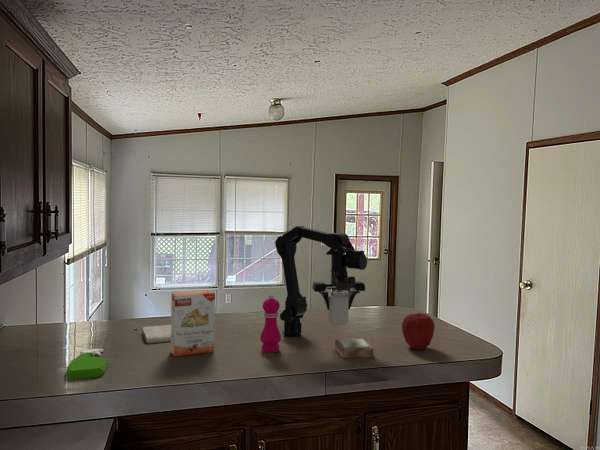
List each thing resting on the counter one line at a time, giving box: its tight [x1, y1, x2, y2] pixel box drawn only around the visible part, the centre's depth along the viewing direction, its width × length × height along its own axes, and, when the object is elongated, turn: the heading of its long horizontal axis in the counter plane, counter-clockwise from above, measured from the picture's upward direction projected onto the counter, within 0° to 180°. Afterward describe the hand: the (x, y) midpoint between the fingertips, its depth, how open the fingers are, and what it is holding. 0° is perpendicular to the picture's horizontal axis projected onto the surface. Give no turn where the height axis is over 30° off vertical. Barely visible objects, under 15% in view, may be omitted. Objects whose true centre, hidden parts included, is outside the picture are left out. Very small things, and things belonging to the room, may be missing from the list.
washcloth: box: [142, 324, 171, 344], centre depth 181 cm, size 12×18×3 cm, turn 25°
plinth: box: [334, 338, 374, 359], centre depth 165 cm, size 11×11×3 cm
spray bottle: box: [66, 348, 107, 381], centre depth 148 cm, size 3×11×24 cm
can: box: [327, 289, 350, 327], centre depth 173 cm, size 8×8×12 cm
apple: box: [401, 312, 436, 351], centre depth 172 cm, size 12×12×13 cm
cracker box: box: [170, 289, 216, 357], centre depth 161 cm, size 14×6×21 cm, turn 117°
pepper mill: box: [260, 293, 282, 354], centre depth 165 cm, size 7×7×20 cm
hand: (338, 309), depth 173 cm, fingers closed on can, 7 cm apart
